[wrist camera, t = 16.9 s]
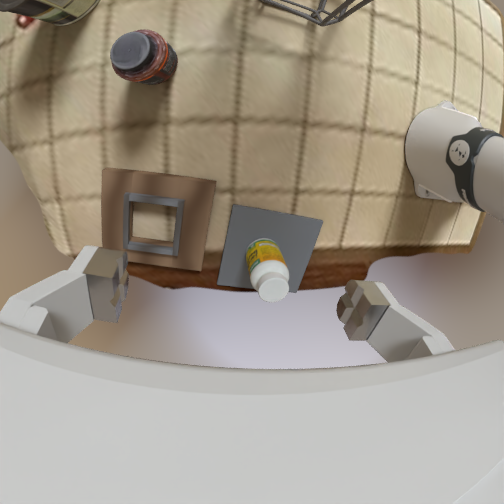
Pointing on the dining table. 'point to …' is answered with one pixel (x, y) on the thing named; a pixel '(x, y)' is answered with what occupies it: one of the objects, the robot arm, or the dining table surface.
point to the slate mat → (271, 227)
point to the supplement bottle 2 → (267, 270)
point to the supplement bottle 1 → (143, 57)
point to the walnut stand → (163, 193)
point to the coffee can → (50, 9)
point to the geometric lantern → (326, 21)
